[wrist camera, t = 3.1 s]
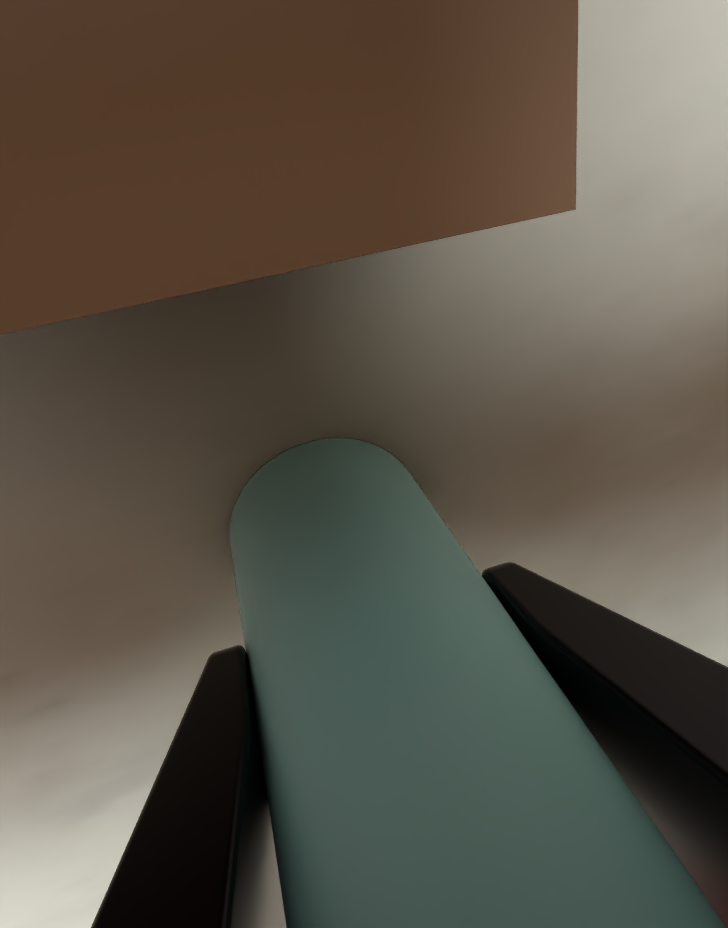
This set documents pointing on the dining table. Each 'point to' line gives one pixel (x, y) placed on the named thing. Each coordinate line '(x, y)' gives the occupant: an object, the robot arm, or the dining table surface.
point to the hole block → (266, 138)
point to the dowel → (422, 724)
